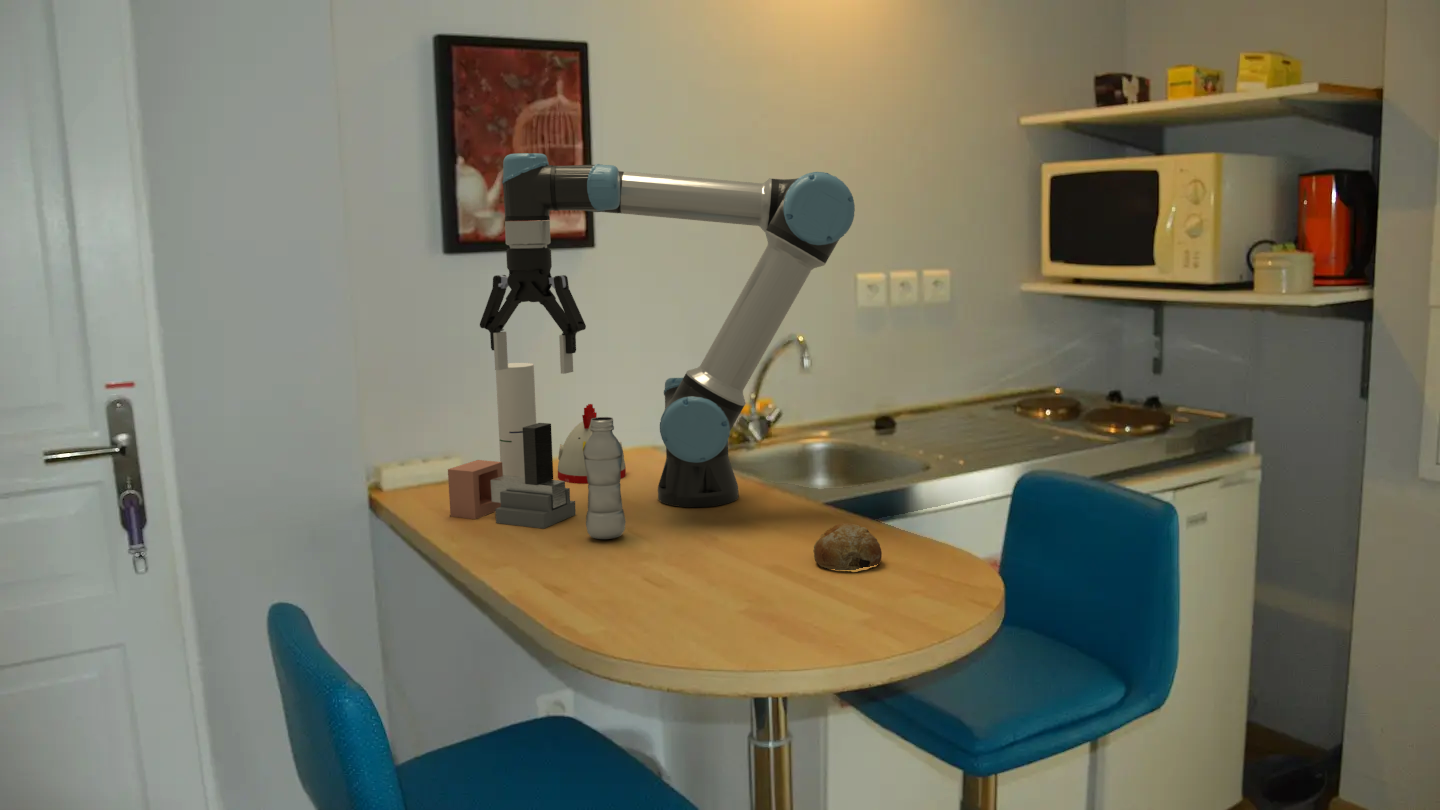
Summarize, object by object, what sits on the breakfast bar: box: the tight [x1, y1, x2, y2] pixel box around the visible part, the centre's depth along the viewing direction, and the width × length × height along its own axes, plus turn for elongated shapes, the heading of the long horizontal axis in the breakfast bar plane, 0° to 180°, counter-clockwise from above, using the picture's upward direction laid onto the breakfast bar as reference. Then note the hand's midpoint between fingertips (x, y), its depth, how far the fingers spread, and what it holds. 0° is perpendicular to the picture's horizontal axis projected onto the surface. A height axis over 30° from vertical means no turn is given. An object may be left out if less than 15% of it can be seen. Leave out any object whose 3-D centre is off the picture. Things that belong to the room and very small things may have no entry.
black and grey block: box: [491, 422, 566, 509], centre depth 198 cm, size 13×5×14 cm, turn 65°
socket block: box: [447, 459, 503, 520], centre depth 203 cm, size 6×9×9 cm, turn 154°
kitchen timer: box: [557, 403, 627, 485], centre depth 231 cm, size 14×14×15 cm
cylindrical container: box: [495, 362, 537, 477], centre depth 216 cm, size 7×7×25 cm
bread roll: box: [813, 522, 883, 570], centre depth 169 cm, size 10×10×8 cm
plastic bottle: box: [583, 416, 627, 540], centre depth 184 cm, size 6×7×20 cm
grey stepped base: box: [494, 487, 576, 529], centre depth 198 cm, size 10×10×5 cm
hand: (533, 371), depth 194 cm, fingers open, 13 cm apart
